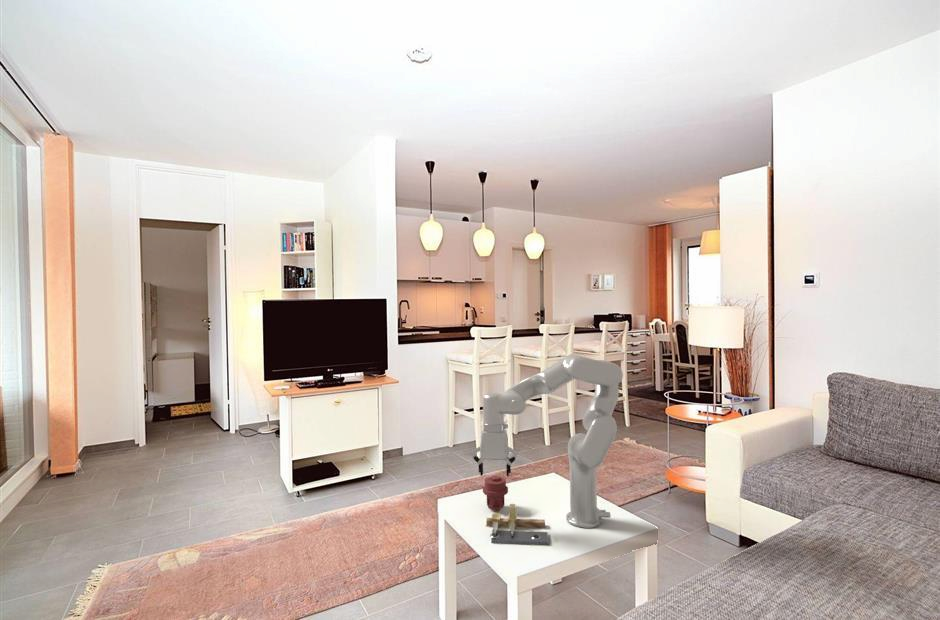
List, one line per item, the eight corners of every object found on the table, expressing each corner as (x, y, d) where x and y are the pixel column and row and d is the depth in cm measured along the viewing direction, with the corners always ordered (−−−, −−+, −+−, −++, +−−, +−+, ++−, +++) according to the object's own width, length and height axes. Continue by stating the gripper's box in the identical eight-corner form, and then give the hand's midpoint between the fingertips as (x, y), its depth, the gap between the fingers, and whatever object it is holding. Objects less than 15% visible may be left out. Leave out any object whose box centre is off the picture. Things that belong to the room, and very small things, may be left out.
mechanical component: (502, 516, 173) (478, 511, 178) (512, 505, 182) (489, 501, 187) (501, 483, 173) (478, 479, 178) (511, 475, 182) (489, 471, 187)
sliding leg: (517, 522, 168) (516, 503, 168) (516, 539, 155) (516, 519, 155) (508, 522, 168) (508, 502, 168) (507, 539, 155) (507, 518, 155)
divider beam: (544, 523, 166) (544, 514, 166) (546, 541, 154) (546, 532, 154) (487, 521, 169) (487, 513, 169) (484, 539, 156) (484, 529, 156)
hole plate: (547, 534, 158) (547, 531, 158) (548, 545, 151) (548, 541, 151) (490, 532, 160) (490, 529, 160) (489, 542, 153) (489, 539, 153)
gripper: (517, 425, 169) (518, 471, 169) (471, 424, 171) (472, 470, 171) (517, 430, 162) (518, 478, 162) (468, 430, 164) (470, 477, 164)
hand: (494, 474), depth 166 cm, fingers open, 9 cm apart
